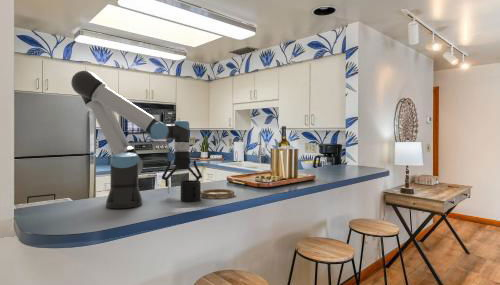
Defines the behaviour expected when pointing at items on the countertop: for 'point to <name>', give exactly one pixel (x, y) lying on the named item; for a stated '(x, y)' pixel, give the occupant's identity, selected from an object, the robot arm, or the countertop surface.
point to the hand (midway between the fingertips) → (182, 192)
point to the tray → (217, 193)
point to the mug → (190, 191)
